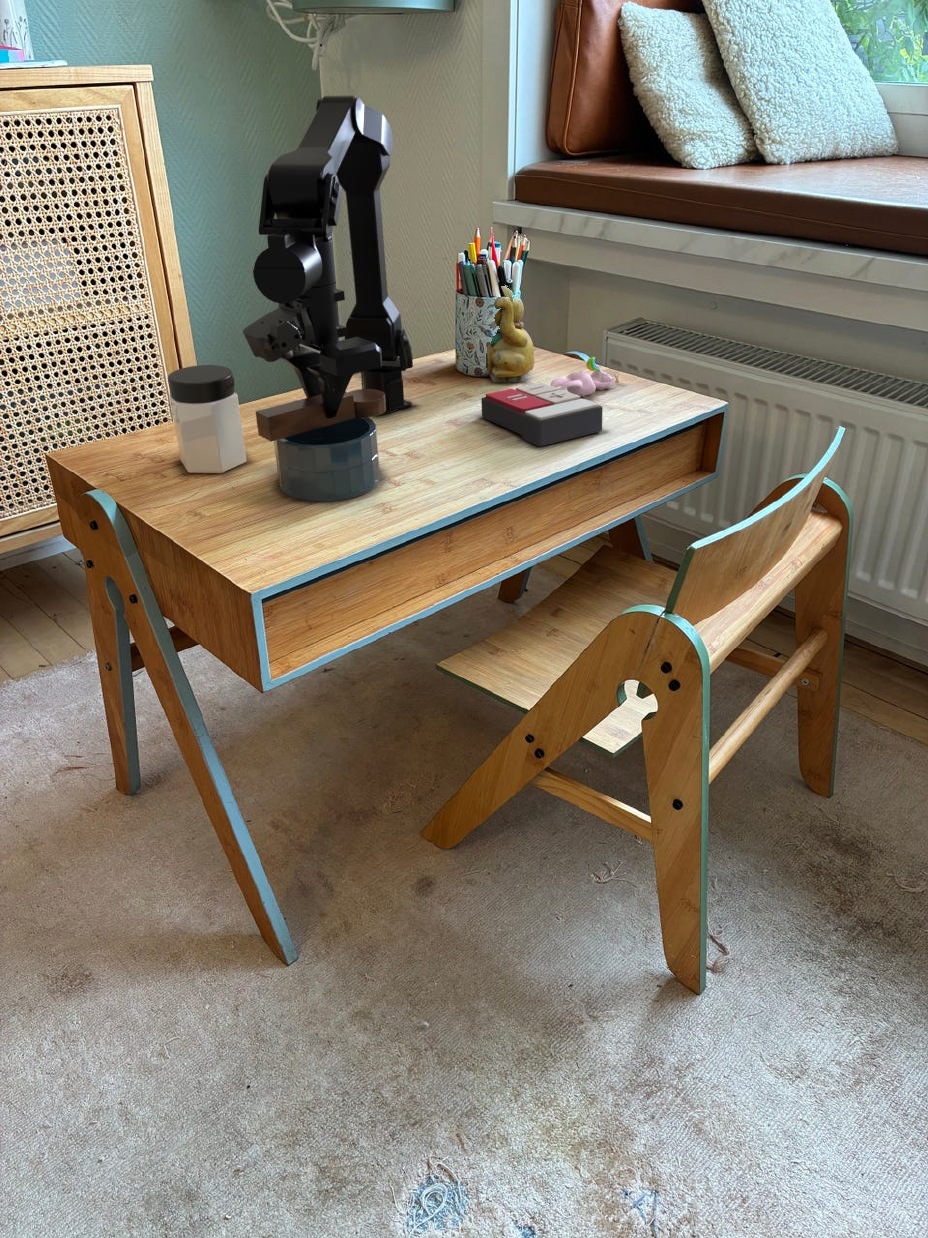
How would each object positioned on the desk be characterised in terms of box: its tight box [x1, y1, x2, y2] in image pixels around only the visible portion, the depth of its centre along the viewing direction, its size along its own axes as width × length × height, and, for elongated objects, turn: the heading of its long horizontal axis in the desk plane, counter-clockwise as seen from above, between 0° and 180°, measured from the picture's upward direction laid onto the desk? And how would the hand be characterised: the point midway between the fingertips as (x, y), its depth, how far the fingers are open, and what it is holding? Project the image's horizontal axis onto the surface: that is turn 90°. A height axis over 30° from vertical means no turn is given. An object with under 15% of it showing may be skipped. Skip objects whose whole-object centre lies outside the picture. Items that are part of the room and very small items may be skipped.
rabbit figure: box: [549, 356, 620, 398], centre depth 151 cm, size 6×6×15 cm
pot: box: [273, 417, 380, 503], centre depth 123 cm, size 13×13×7 cm
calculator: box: [480, 381, 604, 447], centre depth 140 cm, size 11×4×15 cm
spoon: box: [255, 388, 386, 443], centre depth 120 cm, size 17×5×3 cm, turn 130°
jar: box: [167, 364, 247, 474], centre depth 128 cm, size 9×8×12 cm
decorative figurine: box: [485, 285, 535, 383], centre depth 157 cm, size 10×8×15 cm
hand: (323, 414), depth 120 cm, fingers closed on spoon, 3 cm apart
